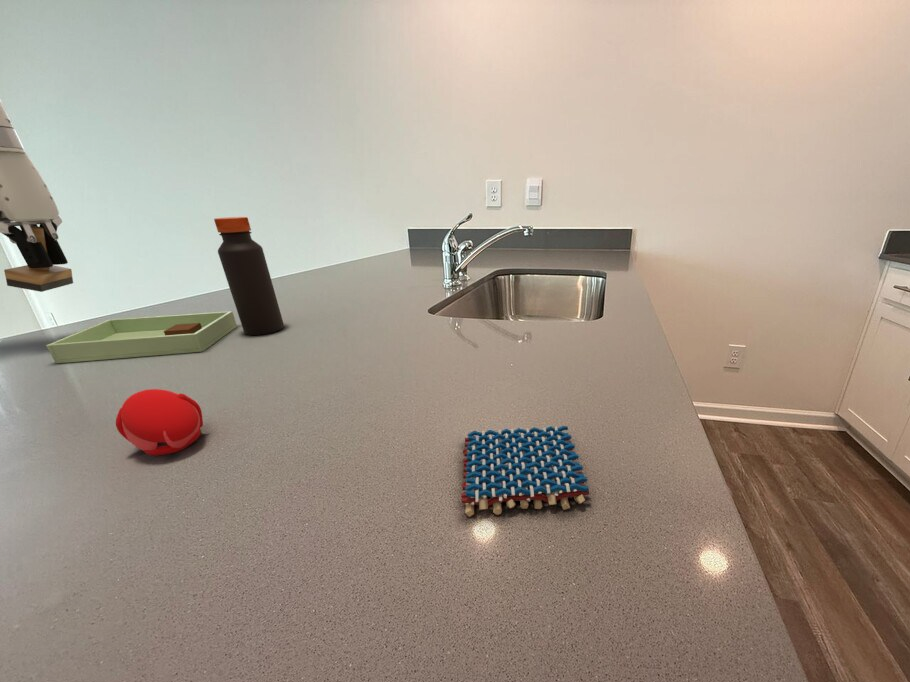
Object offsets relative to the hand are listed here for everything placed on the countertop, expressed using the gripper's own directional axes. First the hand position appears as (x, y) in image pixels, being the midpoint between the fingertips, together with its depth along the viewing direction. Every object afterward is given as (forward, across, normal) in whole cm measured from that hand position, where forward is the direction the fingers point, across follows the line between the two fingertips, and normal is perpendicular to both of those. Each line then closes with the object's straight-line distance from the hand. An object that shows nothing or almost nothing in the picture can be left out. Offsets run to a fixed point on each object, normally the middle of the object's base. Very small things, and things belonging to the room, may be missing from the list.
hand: (49, 265), depth 70 cm
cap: (+14, +43, +36) cm, 58 cm away
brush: (+3, 0, -2) cm, 4 cm away
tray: (+13, +6, +15) cm, 21 cm away
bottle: (+14, +3, +32) cm, 35 cm away
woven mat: (+14, +56, +71) cm, 91 cm away
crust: (+13, +6, +20) cm, 24 cm away
